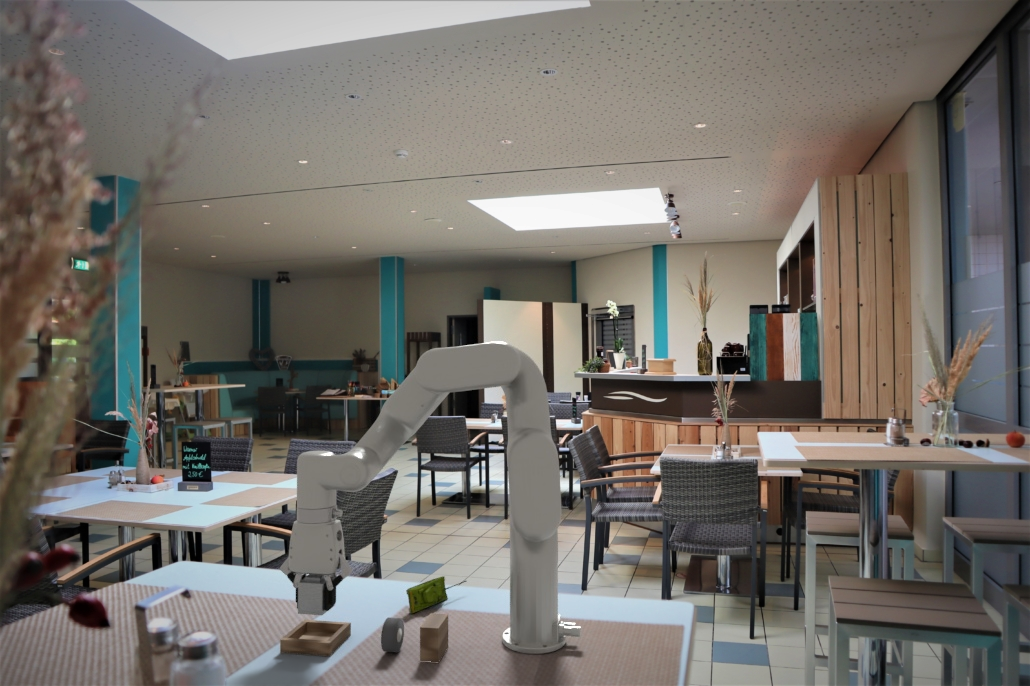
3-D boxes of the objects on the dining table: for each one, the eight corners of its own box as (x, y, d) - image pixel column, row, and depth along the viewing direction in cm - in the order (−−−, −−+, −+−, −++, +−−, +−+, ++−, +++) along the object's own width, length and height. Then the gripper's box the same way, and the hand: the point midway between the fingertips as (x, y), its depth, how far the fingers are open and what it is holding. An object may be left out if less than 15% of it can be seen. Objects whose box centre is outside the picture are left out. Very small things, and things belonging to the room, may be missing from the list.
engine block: (333, 606, 139) (333, 571, 139) (322, 615, 134) (322, 579, 134) (309, 604, 140) (310, 570, 140) (297, 613, 135) (298, 578, 135)
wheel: (404, 644, 136) (404, 613, 136) (394, 657, 130) (394, 625, 130) (391, 643, 136) (391, 612, 136) (380, 656, 130) (380, 624, 130)
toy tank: (394, 586, 154) (426, 585, 149) (451, 565, 170) (482, 564, 164) (398, 619, 154) (431, 619, 148) (455, 595, 169) (486, 595, 163)
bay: (350, 635, 141) (350, 622, 141) (329, 656, 131) (329, 643, 131) (304, 631, 143) (304, 619, 143) (280, 652, 133) (280, 639, 133)
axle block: (448, 647, 135) (448, 614, 135) (438, 663, 128) (438, 628, 128) (429, 646, 136) (429, 613, 136) (418, 661, 129) (418, 627, 129)
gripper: (364, 512, 139) (364, 603, 139) (285, 508, 142) (284, 597, 142) (349, 521, 132) (349, 617, 132) (266, 517, 135) (265, 611, 135)
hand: (315, 606), depth 137 cm, fingers closed on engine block, 5 cm apart
